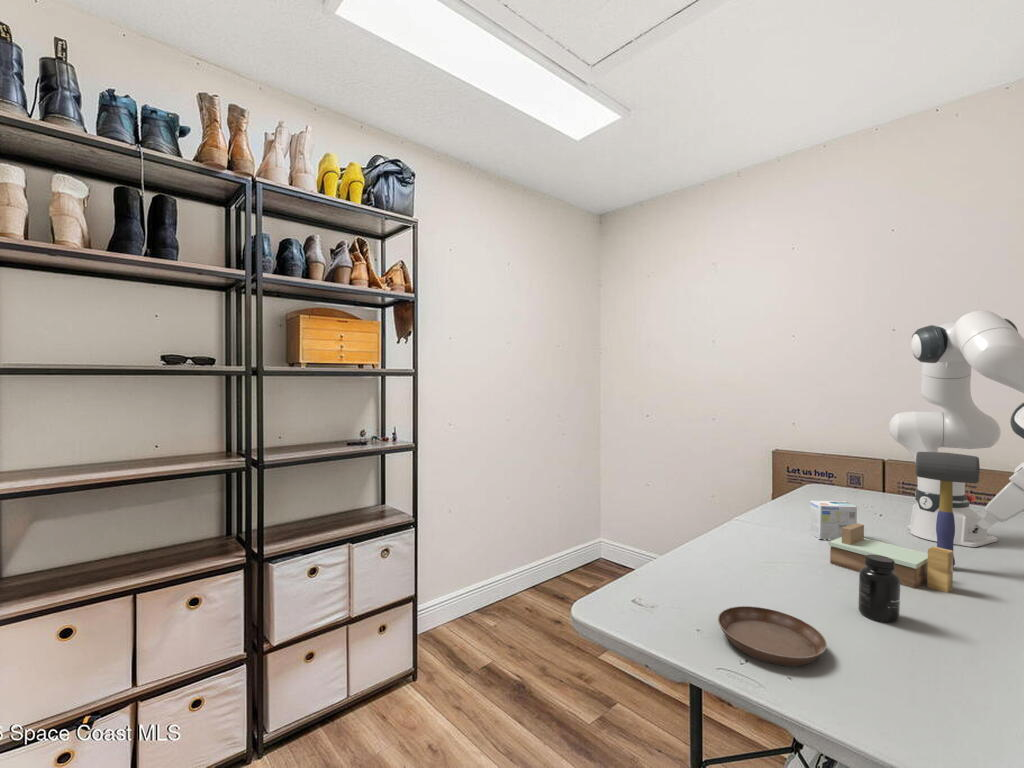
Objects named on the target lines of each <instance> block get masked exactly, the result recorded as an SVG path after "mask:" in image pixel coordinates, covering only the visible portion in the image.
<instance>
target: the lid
mask: <svg viewBox="0 0 1024 768" xmlns="http://www.w3.org/2000/svg"><path fill="white" fill-rule="evenodd" d="M828 546H829V547H831V546H833V547H836V548H840V549H844V550H848V551H851V552H855V553H859V554H863V555H869V554H874V555H881V556H885V557H888V558H891V559H893V560H894V562H895V563H896V564H900V565H904V566H907V567H911V568H915V569H916V568H918V567H920V566H922V565H924V564H926V563H927V562H928V552H924V551H920V550H917V549H911V548H907V547H903V546H899V545H895V544H891V543H887V542H883V541H879V540H874V539H870V538H865V525H864V524H861V523H858V522H857V523H854V524H851V525H849V526H846V527H843V528H842V537H840V538H837V539H835V540H828Z"/></svg>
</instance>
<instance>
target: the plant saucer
mask: <svg viewBox="0 0 1024 768" xmlns="http://www.w3.org/2000/svg"><path fill="white" fill-rule="evenodd" d="M717 622H718V625H719V627H720V629H721V631H722V632H723V634H724V635H725V636H726V638H727V639H728V640H729V641H730V643H731V644H732V645H733V646H735V647H736V648H737V649H738V650H739V651H741V652H743V653H745V654H746V655H747V656H750V657H752V658H754V659H756V660H759V661H762V662H765V663H770V664H774V665H777V666H785V667H797V666H798V667H799V666H803V665H808V664H810V663H811V662H814V661H816V660H817V659H818V658H819V657H821V656H822V655H823V654H824V652H825V651H826V650H827V647H828V645H827V640H826V639H825V637H824V635H823V634H822V633H821V632H820V631H818V630H817V629H816V628H815V627H813V625H810V624H809V623H807V622H806V621H803V620H801V619H800V618H797V617H795V616H793V615H790V614H789V613H788V614H787V613H785V612H782V611H779V610H778V611H777V610H774V609H769V608H765V607H759V606H749V605H748V606H747V605H745V606H741V605H740V606H733V607H732V606H731V607H729V608H726V609H724V610H722V611H721V612H720V613H719V614H718V617H717Z"/></svg>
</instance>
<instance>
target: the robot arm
mask: <svg viewBox="0 0 1024 768" xmlns="http://www.w3.org/2000/svg"><path fill="white" fill-rule="evenodd" d="M910 350H911V353H912V355H913V357H914V358H915V359H916V360H917V361H919V362H921V363H922V364H921V373H920V374H921V377H920V391H919V392H920V394H921V396H922V398H923V399H924V400H925V401H927V402H928V403H931V404H933V405H934V406H938V407H940V408H942V409H943V410H944V411H925V410H912V411H904V412H903V411H901V412H898V413H895V414H894V415H893V416H892V418H890V420H889V423H888V430H889V431H888V432H889V435H890V436H891V437H892V439H893V440H894V441H896V443H898V444H900V445H902V446H903V447H904V448H905V449H906V450H907V451H908V453H909V454H910V455H911V457H912V458H913V460H914V463H915V464H916V455H917V452H939V449H940V448H949V449H960V450H961V449H962V450H965V449H966V450H976V449H977V450H979V449H989V448H992V447H993V446H994V445H996V444H997V443H998V441H999V440H1000V438H1001V434H1002V433H1001V427H1000V425H999V423H998V422H997V420H996V419H995V418H993V417H992V416H990V415H988V414H986V413H985V412H983V411H982V410H981V409H980V408H979V407H978V406H977V405H976V403H975V402H974V400H973V398H972V393H971V379H972V377H971V376H972V369H973V370H975V371H976V372H977V373H978V374H980V375H981V376H983V377H985V378H987V379H990V380H991V381H994V382H997V383H999V384H1002V385H1004V386H1007V387H1009V388H1012V389H1013V390H1016V391H1018V392H1021V393H1022V394H1024V337H1023V336H1022V334H1020V333H1019V330H1018V328H1017V326H1016V325H1015V323H1014V322H1013V321H1011V320H1010V319H1008V318H1004V317H1002V316H1000V315H999V314H997V313H995V312H993V311H990V310H981V309H980V310H974V311H970V312H967V313H966V314H964V315H962V316H961V317H959V318H958V319H957V321H954V322H946V323H943V324H942V323H941V324H937V325H932V324H931V325H926V326H923V327H920V328H917V329H916V330H915V332H914V333H913V334H912V336H911V340H910ZM1010 427H1011V429H1012V431H1013V433H1014V434H1016V436H1018V437H1020V438H1022V439H1024V402H1022V403H1021V404H1019V405H1018V406H1017V407H1016V408H1015V409H1014V410H1013V412H1012V414H1011V415H1010ZM916 477H917V487H916V488H915V493H914V496H915V497H914V498H915V501H916V503H914V504H913V505H912V511H911V516H910V517H911V518H910V519H911V520H910V524H908V525H907V529H908V530H909V533H910V534H911V535H913V536H914V537H917V538H921V539H924V540H928V541H933V542H936V543H937V534H936V521H937V514H938V511H939V503H940V480H934V479H927V478H922V477H918V476H917V475H916ZM1008 480H1009V481H1010V482H1008V483H1007V484H1006V485H1005V486H1004V487H1003V488H1002V489H1001V490H999V492H998V493H997V494H996V495H995V496H994V497H993V498H992V499H991V500H990V501H989V502H988V503H987V504H986V506H985V508H984V511H985V513H986V514H985V515H984V516H983V517H982V516H981V515H979V514H978V513H977V512H976V511H975V510H973V509H972V508H971V507H970V502H971V503H975V502H976V500H977V498H976V496H975V495H974V494H973V495H972V494H968V493H967V494H966V493H965V491H966V490H965V489H966V483H961V482H953V506H952V512H953V514H954V520H955V536H954V542H953V545H957V546H963V547H969V548H976V547H980V546H981V547H982V546H984V545H988V544H991V543H995V542H998V541H999V538H998V537H997V536H995V535H992V534H989V533H988V529H989V528H991V527H992V526H994V525H995V524H996V523H998V522H1000V523H1004V522H1007V521H1009V520H1011V519H1013V518H1015V517H1017V516H1018V515H1020V514H1022V513H1024V461H1023V462H1021V463H1020V464H1019V465H1018V466H1016V467H1014V472H1013V474H1012V475H1011V476H1010V477H1009V478H1008Z"/></svg>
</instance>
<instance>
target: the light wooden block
mask: <svg viewBox="0 0 1024 768" xmlns="http://www.w3.org/2000/svg"><path fill="white" fill-rule="evenodd" d="M927 553H928V575H927V581H926V582H927V583H926V584H927V586H926V587H927V588H930V589H933V590H936V591H940V592H944V593H946V594H947V593H949V592H951V591H952V590H953V577H954V575H953V574H954V573H953V572H954V571H953V569H954V566H953V555H954V550H953V551H952V550H947V549H943V548H939V547H937V546H931V547H930V548H927Z"/></svg>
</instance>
